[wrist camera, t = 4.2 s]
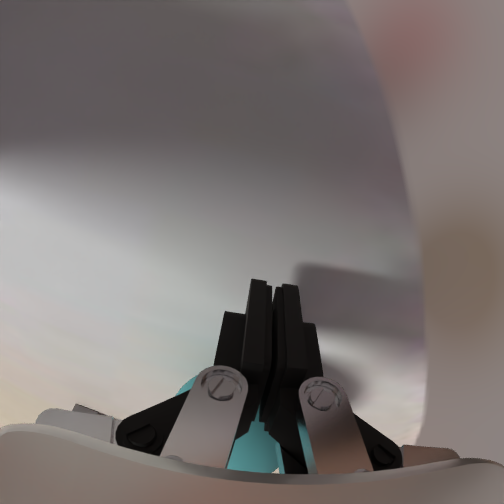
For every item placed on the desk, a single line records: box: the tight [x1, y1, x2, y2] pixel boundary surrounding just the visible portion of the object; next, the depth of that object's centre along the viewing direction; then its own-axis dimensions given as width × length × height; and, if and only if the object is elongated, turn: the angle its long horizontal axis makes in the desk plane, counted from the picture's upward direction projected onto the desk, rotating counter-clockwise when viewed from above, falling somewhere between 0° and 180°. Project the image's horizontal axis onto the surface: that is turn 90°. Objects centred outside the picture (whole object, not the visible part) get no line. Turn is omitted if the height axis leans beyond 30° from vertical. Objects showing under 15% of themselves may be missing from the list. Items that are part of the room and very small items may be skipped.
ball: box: [176, 375, 278, 473], centre depth 13 cm, size 6×6×6 cm
